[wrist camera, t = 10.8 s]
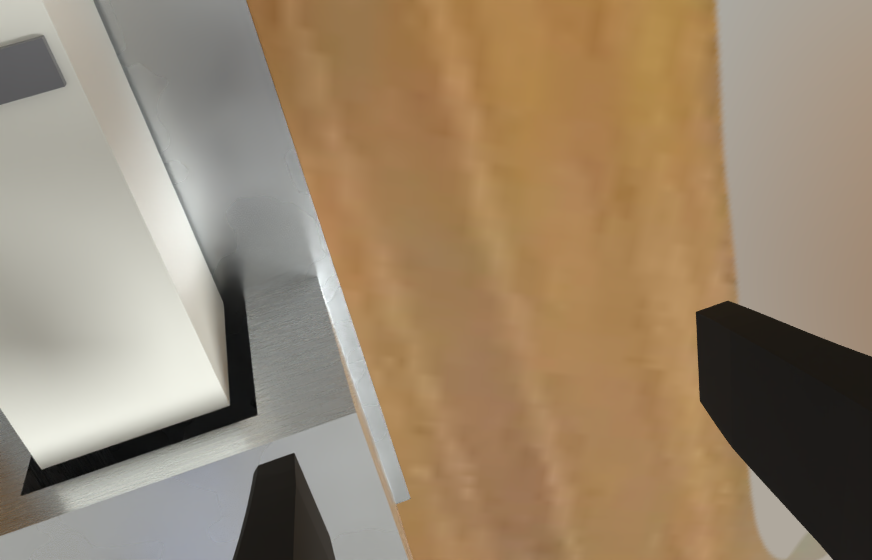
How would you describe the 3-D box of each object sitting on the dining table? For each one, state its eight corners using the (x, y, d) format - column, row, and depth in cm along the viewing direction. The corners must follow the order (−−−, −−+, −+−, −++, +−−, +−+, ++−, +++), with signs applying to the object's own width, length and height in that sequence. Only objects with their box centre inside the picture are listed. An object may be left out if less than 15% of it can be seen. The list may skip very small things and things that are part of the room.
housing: (403, 478, 27) (463, 658, 21) (111, 583, 25) (86, 805, 20) (162, -252, 16) (142, -312, 10) (-368, -127, 15) (-754, -109, 9)
